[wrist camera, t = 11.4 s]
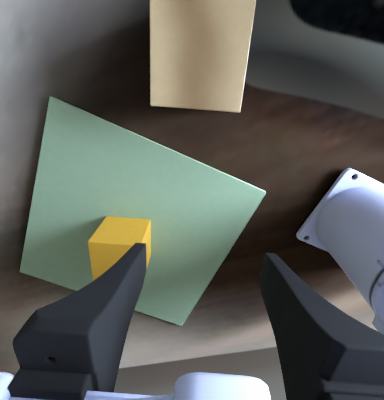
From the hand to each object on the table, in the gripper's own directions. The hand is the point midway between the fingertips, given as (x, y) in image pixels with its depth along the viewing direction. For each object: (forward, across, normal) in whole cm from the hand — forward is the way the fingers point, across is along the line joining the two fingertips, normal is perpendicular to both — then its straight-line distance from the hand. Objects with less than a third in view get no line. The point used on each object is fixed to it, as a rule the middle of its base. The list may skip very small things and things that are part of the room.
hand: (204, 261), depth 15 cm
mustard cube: (+9, +7, +5) cm, 12 cm away
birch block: (+9, +1, -11) cm, 15 cm away
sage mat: (+9, +7, +5) cm, 13 cm away
